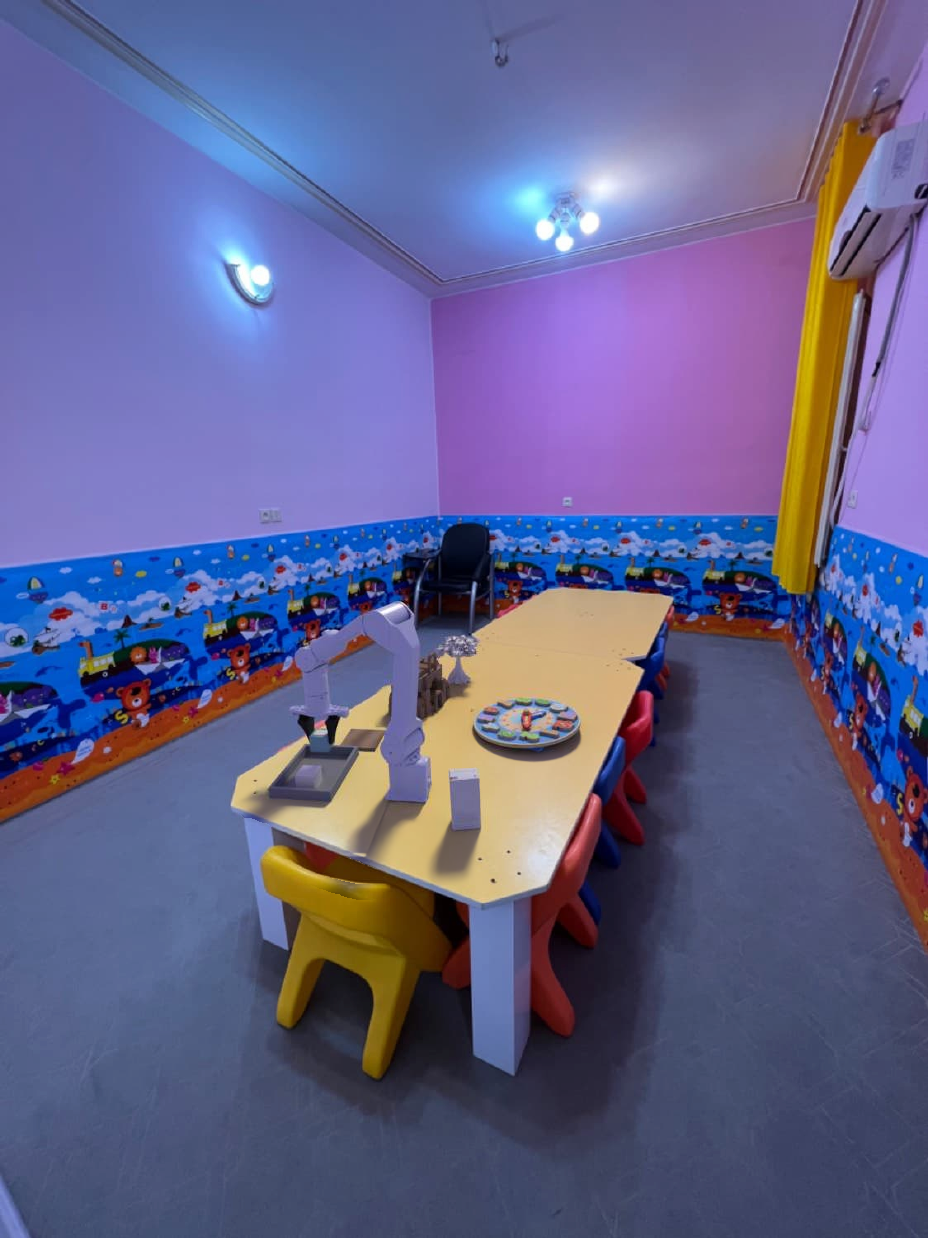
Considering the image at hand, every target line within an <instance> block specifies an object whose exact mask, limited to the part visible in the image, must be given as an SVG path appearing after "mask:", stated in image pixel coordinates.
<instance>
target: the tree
mask: <svg viewBox="0 0 928 1238" xmlns="http://www.w3.org/2000/svg"><path fill="white" fill-rule="evenodd" d="M444 639H445V641H443V642H441V643H440V644H438V647H435V648H434V649H433V651H434V652H435V653H436V655H437V660H439V659H440V658H443V657H444V656H445V654H447V655H448V656H449V657H451V658H452V659H453V658H455V659H456V661H455V665H454V667H453V669H452V671H450V672H449V674H448V676H447V680H446V681H447V682H449V684H450V685H452V684H454V685H455V684H456V685H463V684H465V685H467V682H468V683H469V682H471V678H472V677H470V676H469V675H468V674H467V673H466V672H465V670H464V669H463V666H462V662H461V658H462V657H463V658H472V656H476V655H477V654H478V651H477V647H478V646H479V645H478V644H479V642H476V643H475V641H474V640H475V639H474V638H472V637H468V636H467V637H466V636H465V635H460V636H457V635H449V636H448V637H447V636H444Z"/></svg>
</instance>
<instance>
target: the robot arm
mask: <svg viewBox="0 0 928 1238" xmlns="http://www.w3.org/2000/svg"><path fill="white" fill-rule="evenodd" d="M361 635H363V637H367V636H368V637H369V638H370V639H371V640H373V641H374V642H375V643H377V644H378V645H380V647H382V648H384V649H385V650H387V651H388V652H390V653H392V654H393V667H392V670H393V671H392V684H393V687H392V711H391V717H390V721H389V723H388V724H387V727H386V728H385V729H384V730H385V733H384V736H383V739H382V740H381V742H380V744H379V745H380V747H379V749H380V754H381V756H382V758H383V759H384V760H385V762H386V763H387V764H388V765H387V766H388V778H389V787H388V789H387V791H386V794H385V797H384V799H385V800H388V801H393V802H395V801H396V802H409V803H410V802H411V803H413V802H414V803H426V802H427V800H428V797H429V794H430V790H431V787H432V783H433V781H432V766H431V763H432V761H431V758H430V756H427V755H423V754H421V753H420V752H421V746H423V744H425V739H426V734H425V732H424V729H423V719H419V718H417V717H416V711H417V694H418V678H419V661H420V658H421V643H420V640H419V635H418V633H417V630H416V628H415V613H414V612H413V611H412V610H411V609H410V608H409V607H408V605H406V604H405V603H404V602H402V601H393V602H391V603H390V604H387V605H385V606H382V607H379V608H377V609H373V610H369V611H367V612H366V613H363V614H361V615H358V616H357V617H356V618H355V619H353V620H352V621H350V622H349V623H348V624H346V625H345V626H344V627H342V628H341V629H340V630H338V629H326V630H323V631H322V632H321V636H319V637H318V638H314V639H313V638H312V640H310V642H309V645H308V644H307V645H306V646H303V647H300V648H299V647H298V650H296V652H295V653H294V663H295V664H296V666H297V667H298V669H299V670H300V671H301V674H302V683H303V692H304V693H303V694H304V698H305V699H304V700H305V704H304V705H303V704H301V705H292V706H291V707H290V708H289V709H288V712H289V713H288V715H289V717H295V716H298V719H297V721H296V722H297V724H298V726H299V727H300V728H301V729H302V730H303V732H304V734H305V735H306V738H307V740H308V742H309V736H310V735H311V734H312V733H313V732H314V730H315V729H316V728H315V718H319V717H327V718H326V719H325V721H324V725H325V727H326V729H327V732H328V740H329V744H333V743H334V741H336V733H337V730H338V725H339V723H340V720H341V718H343V719H347V718H348V717H349V715H350V710H349V707H347V706H346V707H344V706H338V705H334V704H331V698H330V697H331V696H330V687H329V679H328V671H329V663H330V662H331V660H333V659H335V657H338V656H339V655H340V654H342V653H344V652H345V651H346V650H347V647H348V643H349V642H351V641H352V640H355V639H356V638H357V637H360V636H361ZM308 744H310V742H309V743H308ZM334 744H335V743H334Z"/></svg>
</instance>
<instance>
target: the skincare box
mask: <svg viewBox="0 0 928 1238" xmlns="http://www.w3.org/2000/svg"><path fill="white" fill-rule="evenodd" d="M448 779H449V780H448V781H449V795H450V796H449V798H450V811H451V812H450V813H451V816H450V817H451V825H452V827H451V828H452V831H464V830H475V829H481V828H482V818H481V817H482V816H481V815H482V814H481V813H482V812H481V789H480V784H481V783H480V776H479V772H478V768H477V767H471V768H470V767H469V768H455V769H454V768H453V769H449V770H448Z"/></svg>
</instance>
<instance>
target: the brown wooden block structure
mask: <svg viewBox="0 0 928 1238" xmlns="http://www.w3.org/2000/svg"><path fill="white" fill-rule="evenodd" d="M450 685H451V684H450V683H449V682H448V681H447V680H446V677H444V676H443V664H442V663H440V662H439V659H438V658H437V655H436V653H435V651H434V652H432V651H431V652H430V653H429V654H428V656H427V658H425V657H420V661H419V678H418V694H417V711H416V717H417V718H419V719H420V720H423V719H425V717H427V718H428V717H429V716H431V715H432V714H433V713H434V712H436V713H437V712H439V707H440V708H443V707H444V704H445V703H446V702H447V701H448V700H449V699H450V698H451V686H450ZM392 687H393V683H392V684H391V685H390V693H389V697H388V704H387V705H388V706H387V707H388V708H387V709H388V717H389V718H391V711H392Z"/></svg>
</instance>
